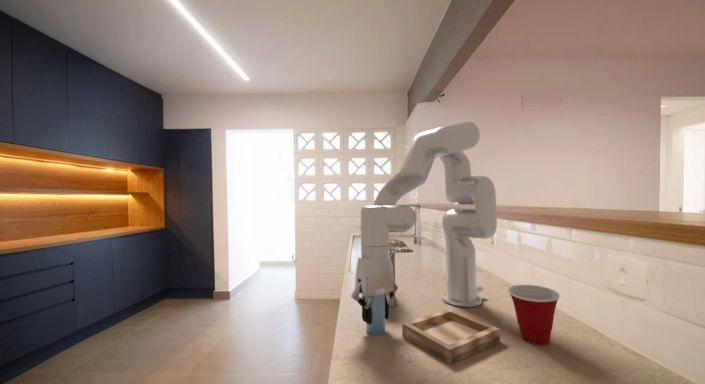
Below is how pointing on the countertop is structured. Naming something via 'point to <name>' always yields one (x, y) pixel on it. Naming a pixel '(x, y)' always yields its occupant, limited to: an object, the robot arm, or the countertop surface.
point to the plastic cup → (534, 311)
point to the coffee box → (393, 275)
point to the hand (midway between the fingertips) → (375, 319)
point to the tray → (450, 335)
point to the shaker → (377, 313)
